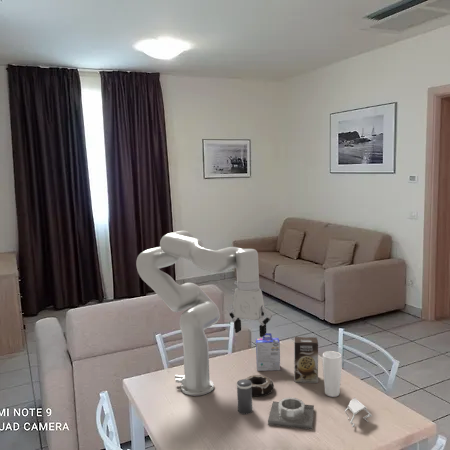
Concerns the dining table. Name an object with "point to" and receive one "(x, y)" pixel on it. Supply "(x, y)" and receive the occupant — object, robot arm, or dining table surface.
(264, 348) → the ink cartridge box
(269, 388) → the donut
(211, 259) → the robot arm
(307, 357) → the coffee box
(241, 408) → the lens
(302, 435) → the dining table surface
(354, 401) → the origami figure
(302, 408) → the mount
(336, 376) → the drinking glass
